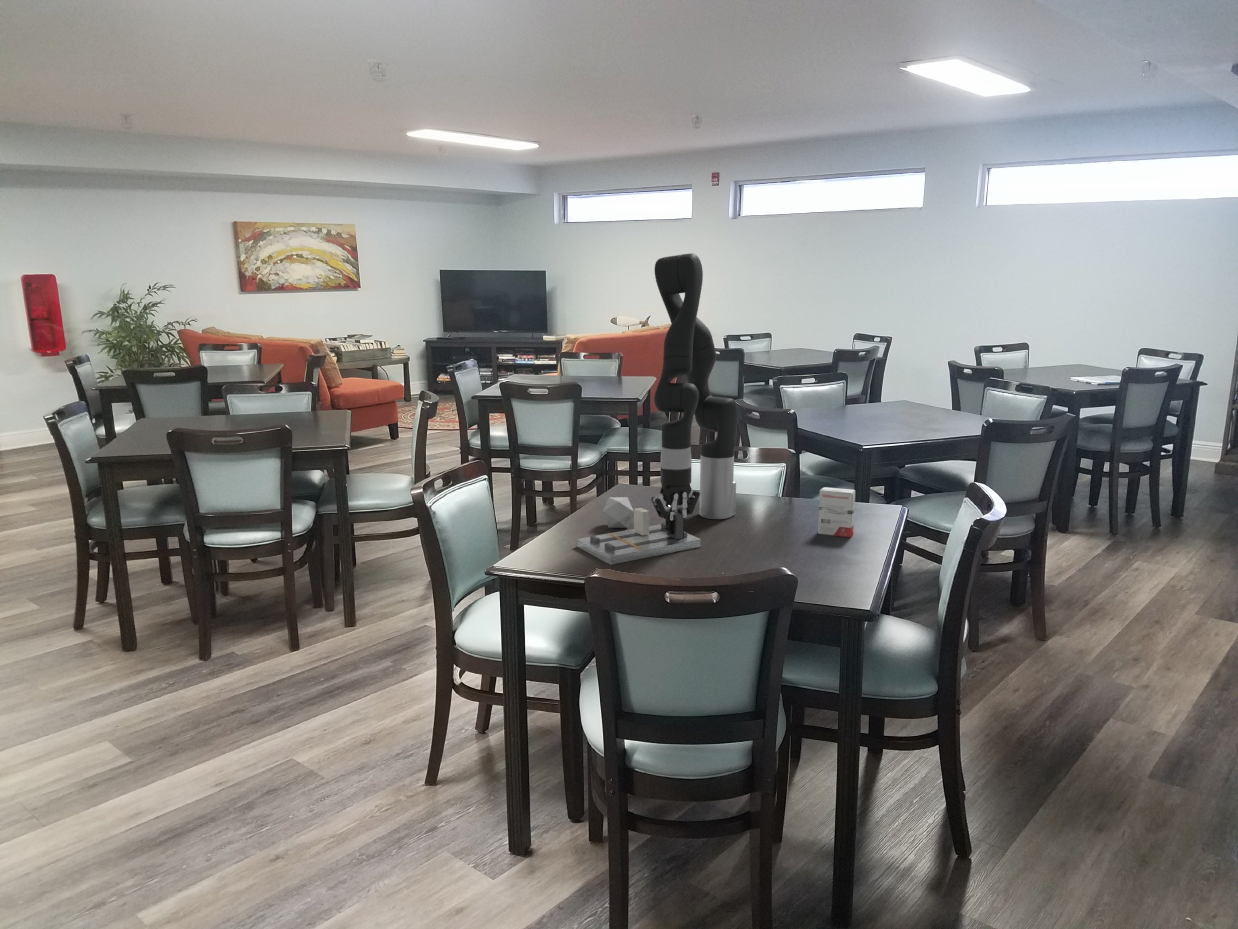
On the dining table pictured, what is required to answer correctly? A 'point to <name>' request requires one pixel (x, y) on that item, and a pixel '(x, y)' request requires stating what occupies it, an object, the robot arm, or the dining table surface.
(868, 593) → the dining table surface
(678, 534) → the fader near
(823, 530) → the ink box
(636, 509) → the block
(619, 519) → the die
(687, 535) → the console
